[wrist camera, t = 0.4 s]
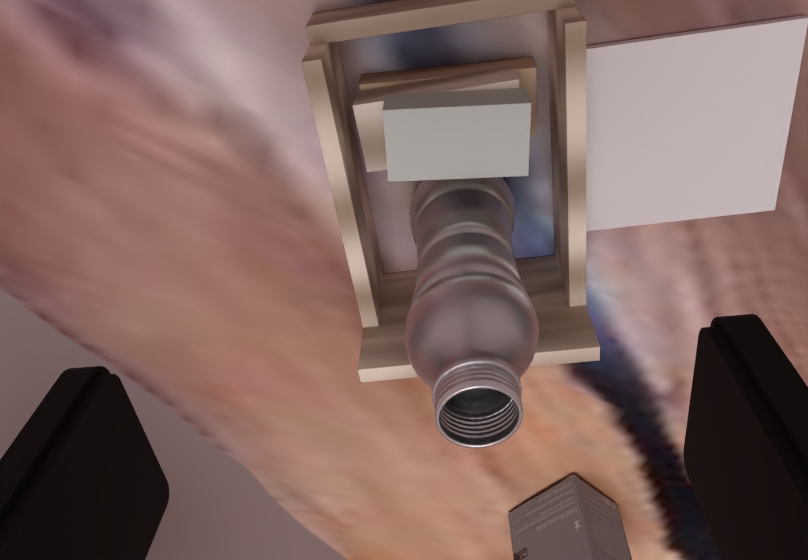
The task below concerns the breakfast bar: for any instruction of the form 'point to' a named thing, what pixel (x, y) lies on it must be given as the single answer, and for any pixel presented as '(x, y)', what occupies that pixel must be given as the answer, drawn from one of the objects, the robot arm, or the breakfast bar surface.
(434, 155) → the offcut top
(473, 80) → the block
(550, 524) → the skincare box
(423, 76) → the offcut bottom
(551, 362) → the frame
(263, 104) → the breakfast bar surface
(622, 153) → the pad
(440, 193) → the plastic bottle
